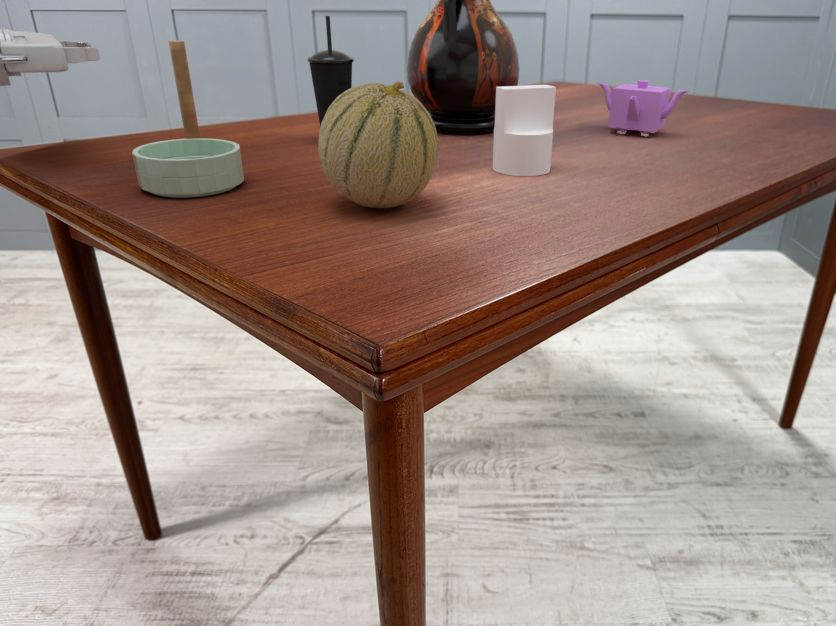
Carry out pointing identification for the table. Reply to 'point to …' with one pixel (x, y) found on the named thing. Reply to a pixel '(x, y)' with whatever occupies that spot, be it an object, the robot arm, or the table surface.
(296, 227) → the table surface
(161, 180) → the bowl
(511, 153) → the base with upright slab
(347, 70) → the drinking cup
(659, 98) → the teapot
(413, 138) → the cantaloupe
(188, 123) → the stirring stick
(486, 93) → the amphora vase
